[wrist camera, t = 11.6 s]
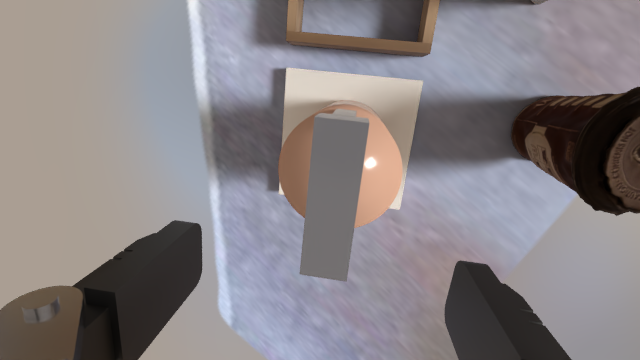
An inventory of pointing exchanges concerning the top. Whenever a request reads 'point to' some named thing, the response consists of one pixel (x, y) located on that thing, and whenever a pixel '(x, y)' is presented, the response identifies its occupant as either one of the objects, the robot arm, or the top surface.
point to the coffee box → (538, 1)
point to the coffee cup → (586, 146)
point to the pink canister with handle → (338, 181)
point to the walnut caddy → (361, 43)
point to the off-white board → (376, 92)
